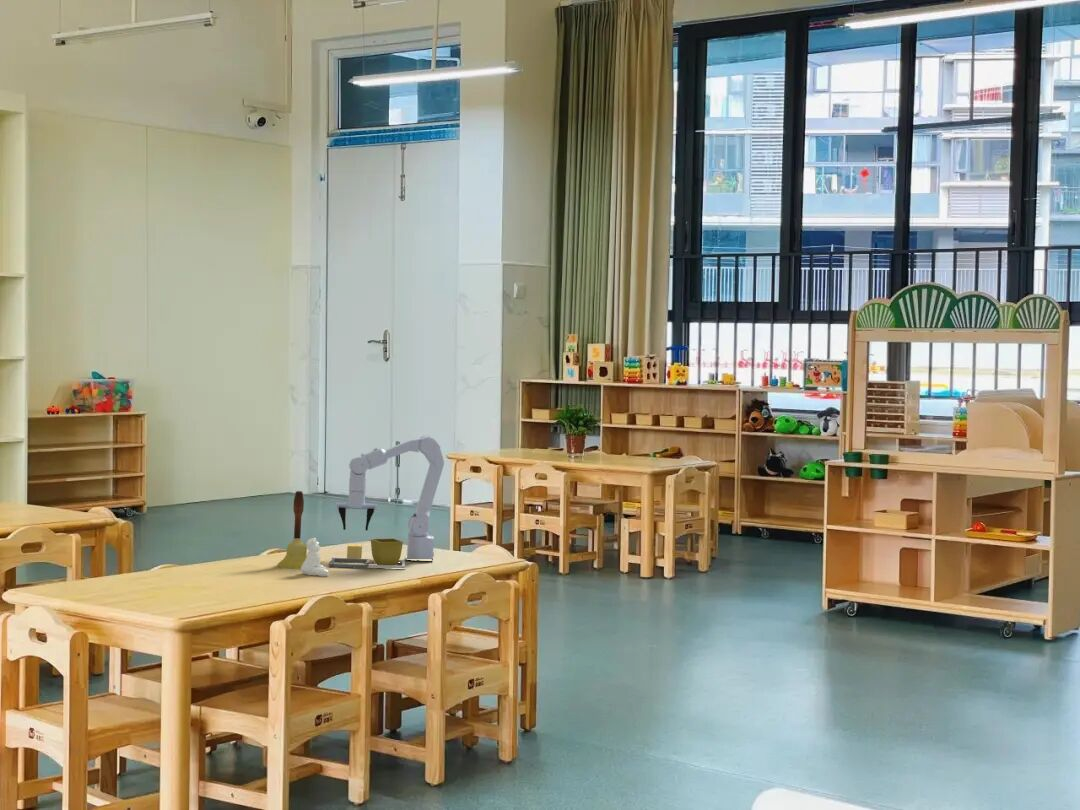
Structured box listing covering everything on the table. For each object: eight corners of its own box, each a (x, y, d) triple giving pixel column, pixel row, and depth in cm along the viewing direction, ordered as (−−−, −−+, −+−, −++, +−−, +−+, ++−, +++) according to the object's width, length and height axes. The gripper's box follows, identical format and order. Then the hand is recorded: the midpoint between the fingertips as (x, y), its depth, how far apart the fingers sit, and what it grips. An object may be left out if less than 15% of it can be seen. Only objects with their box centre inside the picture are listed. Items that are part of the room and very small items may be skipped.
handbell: (287, 561, 450) (290, 488, 449) (320, 564, 446) (323, 491, 445) (270, 566, 438) (274, 491, 437) (304, 569, 434) (307, 494, 434)
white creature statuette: (329, 577, 423) (331, 540, 422) (302, 577, 420) (304, 539, 420) (325, 572, 432) (326, 535, 431) (298, 572, 429) (300, 535, 429)
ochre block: (361, 558, 464) (362, 544, 464) (361, 560, 459) (361, 546, 459) (347, 558, 463) (347, 543, 463) (346, 560, 458) (347, 546, 458)
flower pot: (368, 564, 451) (370, 538, 451) (392, 563, 455) (393, 537, 455) (378, 568, 444) (379, 542, 443) (402, 567, 448) (403, 541, 447)
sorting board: (404, 563, 457) (404, 560, 457) (404, 569, 444) (405, 566, 444) (331, 561, 454) (332, 557, 454) (330, 567, 441) (330, 563, 441)
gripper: (378, 490, 465) (376, 528, 465) (336, 489, 463) (335, 527, 464) (377, 492, 458) (376, 531, 458) (335, 491, 456) (334, 530, 457)
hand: (355, 529), depth 461 cm, fingers open, 7 cm apart
